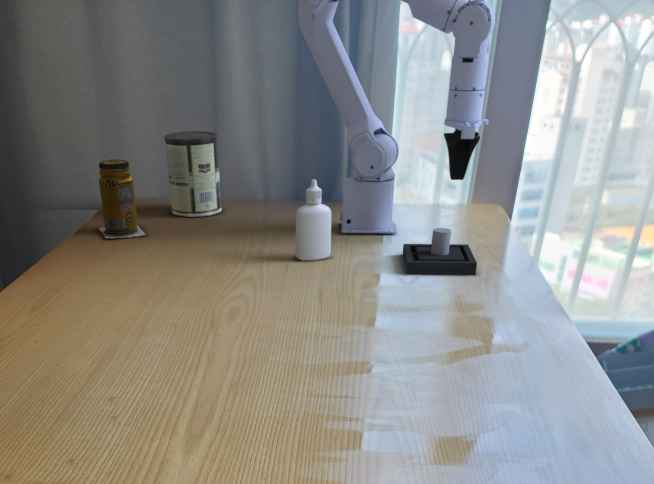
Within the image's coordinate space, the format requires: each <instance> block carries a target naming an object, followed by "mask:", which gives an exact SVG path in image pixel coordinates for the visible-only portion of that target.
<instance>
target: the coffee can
mask: <svg viewBox="0 0 654 484" xmlns="http://www.w3.org/2000/svg"><path fill="white" fill-rule="evenodd" d="M163 137H164V138H163V139H164V141H165V150H166V151H165V152H166V162H167V173H168V183H169V194H170V204H171V214H172V215H175V216H177V217H183V218H203V217H210V216H214V215H217V214H219V213H222V210H223V208H222V195H221V181H220V180H221V179H220V178H221V177H220V162H219V161H220V159H219V143H218V142H219V141H218V139H219V134H218V133H217V132H212V131H204V130H203V131H199V130H194V131H193V130H192V131H191V130H190V131H177V132H171V133H168V134H167V133H166V134H165V135H164V136H163Z"/></svg>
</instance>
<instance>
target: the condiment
mask: <svg viewBox="0 0 654 484" xmlns="http://www.w3.org/2000/svg"><path fill="white" fill-rule="evenodd" d="M98 168H99V176H100V177H99V180H98V186H99V193H100V201H101V209H102V214H103V224H104V226H102V227H98V229H99V231H100V233H101V234H102V235H103V237H104V238H105V239H123V238H133V237H141V236H142V237H143V236H146V233H145V232H144V230H142V228H140V226H139V223H138V213H137V212H138V211H137V206H136V196H135V188H134V179H133V177H132V176H131V170H130V163H129V161H127V160H126V159H105V160H102V161H99V163H98Z"/></svg>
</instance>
